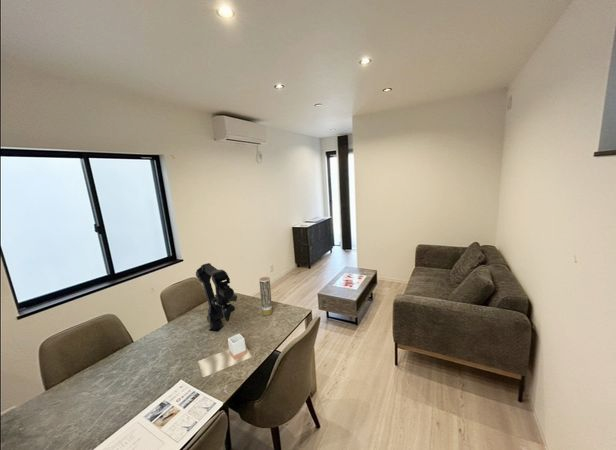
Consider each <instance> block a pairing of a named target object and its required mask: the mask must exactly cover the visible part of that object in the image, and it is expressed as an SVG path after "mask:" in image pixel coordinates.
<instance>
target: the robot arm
mask: <svg viewBox="0 0 616 450" xmlns="http://www.w3.org/2000/svg"><path fill="white" fill-rule="evenodd" d="M195 277H196V279H198V281H199V282H200V283H201V284H202V287H203V290H204V293H205V297H206V300H207V303H208V304H207V305H208V309H207V313H208V314H207V315H206V320H207V321H206V322H208V323H209V326H210V328H209V329H208V331H210V332H216V333H217V332H219V331H220V330H221V329H222V328H223V327H224V324H223V319H225V321H226V322H230V317H231V314H232V313H233V312H235V310H236V307H235V306H234V305H233V304H232V303H231V302H237V299H238V295H237V294H235V290H234V289H233V288H232V287H231V286H230V285H229V284H231V279H230V277H229V274H228V273H227V272H226V270H224V269H217V268H216V267H214V265H212V264H211V263H210V262H209V263H204V264H202V265H200V267H199V268H198V269H196V272H195ZM211 280H212V282H211ZM212 283H213V284H214V289H215V293H214V289H213V285H212Z"/></svg>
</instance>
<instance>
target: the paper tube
mask: <svg viewBox="0 0 616 450" xmlns="http://www.w3.org/2000/svg"><path fill="white" fill-rule="evenodd" d="M259 291H260V302H261V304H260V305H261V314H262V315H264V316H270V315H271V314H273V307H272V306H273V303H272V291H271V280H270V277H269V276H263V277H260V278H259Z"/></svg>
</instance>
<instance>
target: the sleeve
mask: <svg viewBox="0 0 616 450" xmlns="http://www.w3.org/2000/svg"><path fill="white" fill-rule="evenodd" d="M227 343H228V350H229V353H230V355H231V356H232V358H233V359H234V360H236V359H238V358H240V357H242V356H244V355H246V349H245V346H246V341H245V337H243V335H241V333H236V334H234V335H232V336H230V337H227Z"/></svg>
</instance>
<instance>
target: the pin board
mask: <svg viewBox="0 0 616 450" xmlns="http://www.w3.org/2000/svg"><path fill="white" fill-rule="evenodd" d="M245 349H246V355H244V356H242V357H240V358H238V359H236V360H234V359H233V358H232V356H231V355H230V353H229V349H227V350H223V351H221V352H219V353H216V354H213V355H210V356H208V357H206V358H203V359H201V360H198V365H199V368H200V369H199V370H200V373H201V376H202V378H205V377H207V376H210V375H212V374H214V373H218V372H220V371H222V370H224V369H226V368H229V367H231V366H234V365H236V364H239V363H240V362H243V361H247V360H249V359H251V358H252V357H253V356H252V354H251V352H250V351H249V349H248V347H247V345H245Z"/></svg>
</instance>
